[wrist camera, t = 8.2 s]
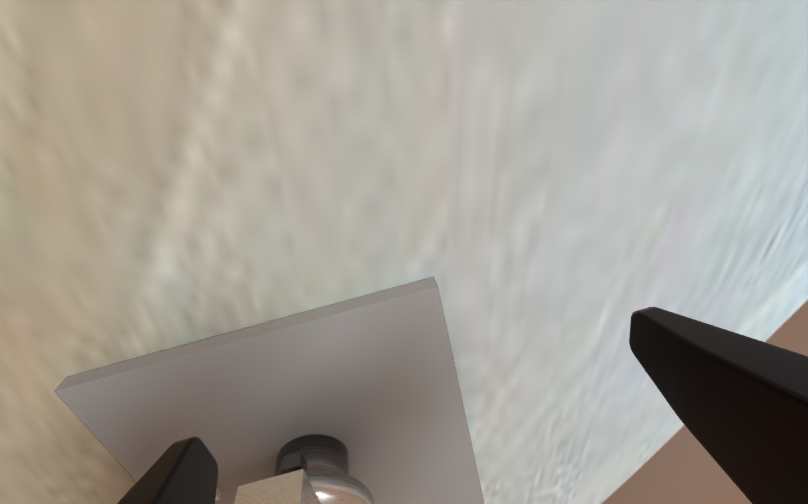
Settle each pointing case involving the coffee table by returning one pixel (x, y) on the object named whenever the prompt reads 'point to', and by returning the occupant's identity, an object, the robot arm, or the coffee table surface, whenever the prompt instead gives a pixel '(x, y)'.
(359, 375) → the base plate
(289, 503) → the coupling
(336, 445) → the dark grey rounded piece
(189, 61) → the coffee table surface
